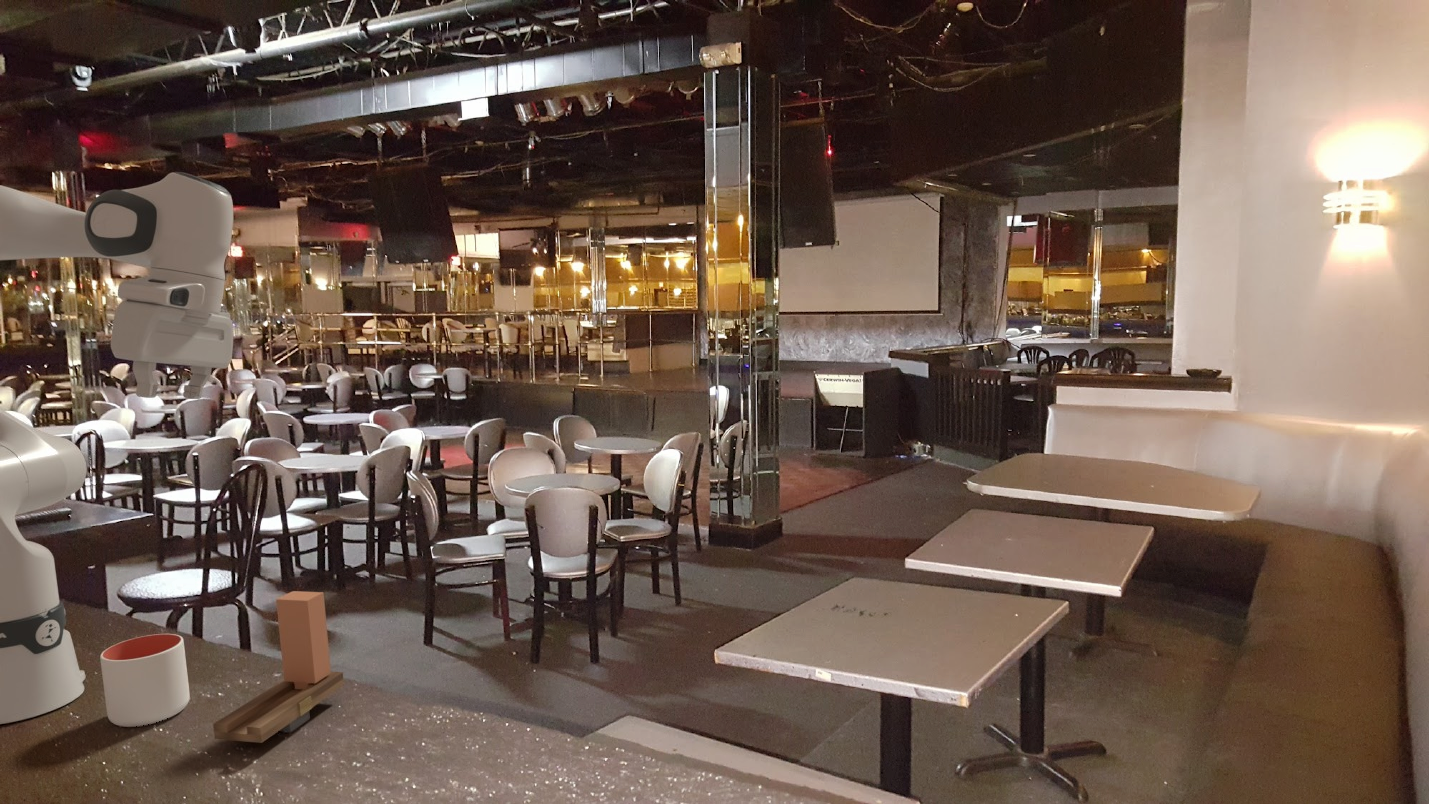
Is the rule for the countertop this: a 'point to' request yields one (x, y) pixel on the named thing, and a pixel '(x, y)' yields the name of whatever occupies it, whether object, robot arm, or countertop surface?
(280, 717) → the beam
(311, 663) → the plate
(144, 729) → the countertop surface
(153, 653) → the cup
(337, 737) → the countertop surface
